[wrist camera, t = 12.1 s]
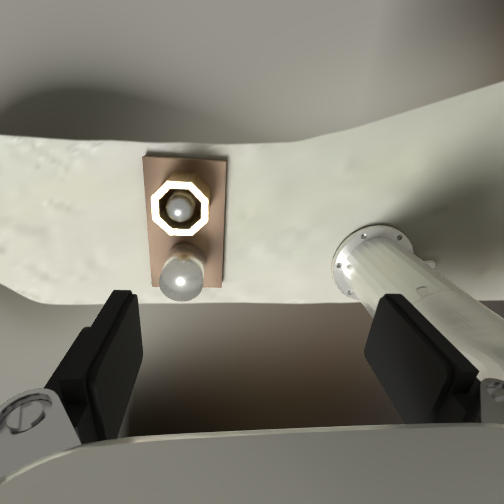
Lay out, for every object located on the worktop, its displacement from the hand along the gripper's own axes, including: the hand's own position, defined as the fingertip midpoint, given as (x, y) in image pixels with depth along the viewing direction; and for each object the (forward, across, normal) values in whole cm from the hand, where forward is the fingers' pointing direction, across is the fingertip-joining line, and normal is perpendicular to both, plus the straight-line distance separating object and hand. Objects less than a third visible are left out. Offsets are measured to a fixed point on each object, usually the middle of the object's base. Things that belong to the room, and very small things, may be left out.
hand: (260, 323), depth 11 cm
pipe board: (+30, +6, +7) cm, 32 cm away
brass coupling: (+29, +6, +2) cm, 30 cm away
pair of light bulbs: (+29, +6, +8) cm, 30 cm away
